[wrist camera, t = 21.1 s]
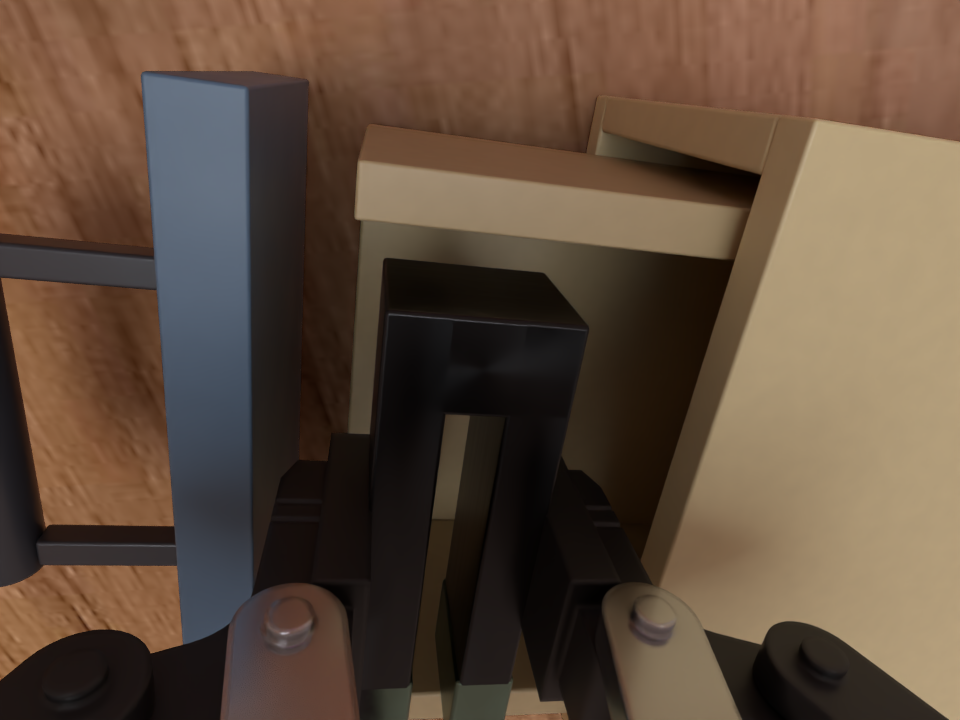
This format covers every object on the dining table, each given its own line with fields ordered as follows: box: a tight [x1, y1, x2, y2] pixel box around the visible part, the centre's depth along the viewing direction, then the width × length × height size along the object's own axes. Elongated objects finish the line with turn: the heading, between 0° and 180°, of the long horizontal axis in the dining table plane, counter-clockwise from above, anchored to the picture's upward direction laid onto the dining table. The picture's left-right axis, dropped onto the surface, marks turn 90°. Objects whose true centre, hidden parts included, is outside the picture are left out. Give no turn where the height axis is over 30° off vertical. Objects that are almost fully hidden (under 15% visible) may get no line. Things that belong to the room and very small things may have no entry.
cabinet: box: [561, 95, 960, 720], centre depth 16 cm, size 17×14×9 cm
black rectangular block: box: [359, 258, 590, 720], centre depth 10 cm, size 8×3×2 cm, turn 172°
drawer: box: [0, 71, 761, 720], centre depth 14 cm, size 20×12×7 cm, turn 82°
